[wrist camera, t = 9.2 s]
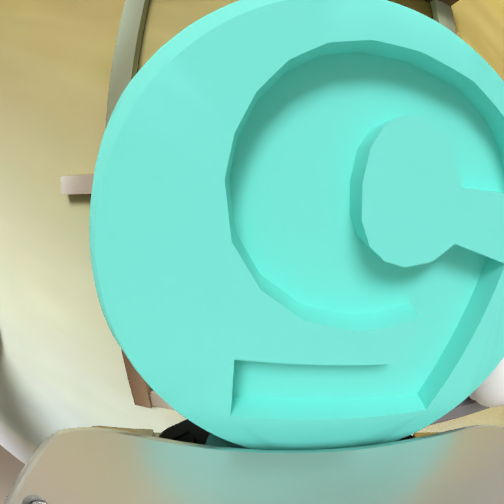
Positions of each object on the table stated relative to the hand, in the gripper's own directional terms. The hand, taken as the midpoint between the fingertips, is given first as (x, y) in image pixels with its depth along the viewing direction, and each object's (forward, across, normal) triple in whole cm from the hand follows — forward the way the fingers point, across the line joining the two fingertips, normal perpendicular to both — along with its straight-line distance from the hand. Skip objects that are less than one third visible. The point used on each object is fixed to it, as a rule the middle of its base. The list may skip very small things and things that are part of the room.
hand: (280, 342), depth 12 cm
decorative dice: (+1, 0, -6) cm, 6 cm away
